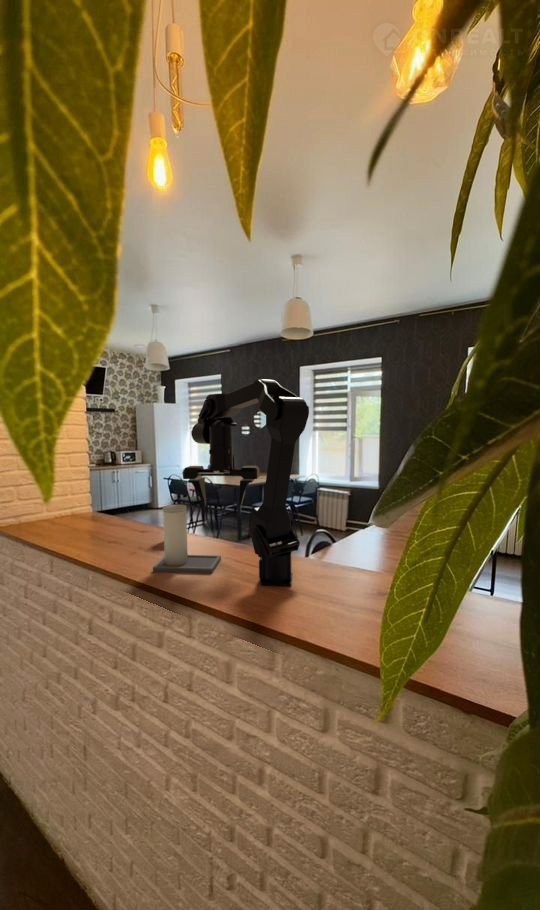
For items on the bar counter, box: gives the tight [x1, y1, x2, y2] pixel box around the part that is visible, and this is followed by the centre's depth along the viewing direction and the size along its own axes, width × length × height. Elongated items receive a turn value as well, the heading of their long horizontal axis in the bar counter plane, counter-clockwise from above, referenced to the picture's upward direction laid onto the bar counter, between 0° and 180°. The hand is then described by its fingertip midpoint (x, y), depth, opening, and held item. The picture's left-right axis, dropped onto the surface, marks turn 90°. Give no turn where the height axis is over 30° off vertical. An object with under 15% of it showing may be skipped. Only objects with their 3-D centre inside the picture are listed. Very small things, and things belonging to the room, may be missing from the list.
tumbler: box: [162, 504, 189, 566], centre depth 96 cm, size 6×6×14 cm
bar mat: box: [152, 554, 222, 574], centre depth 96 cm, size 14×9×1 cm, turn 84°
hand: (222, 506), depth 102 cm, fingers open, 9 cm apart
